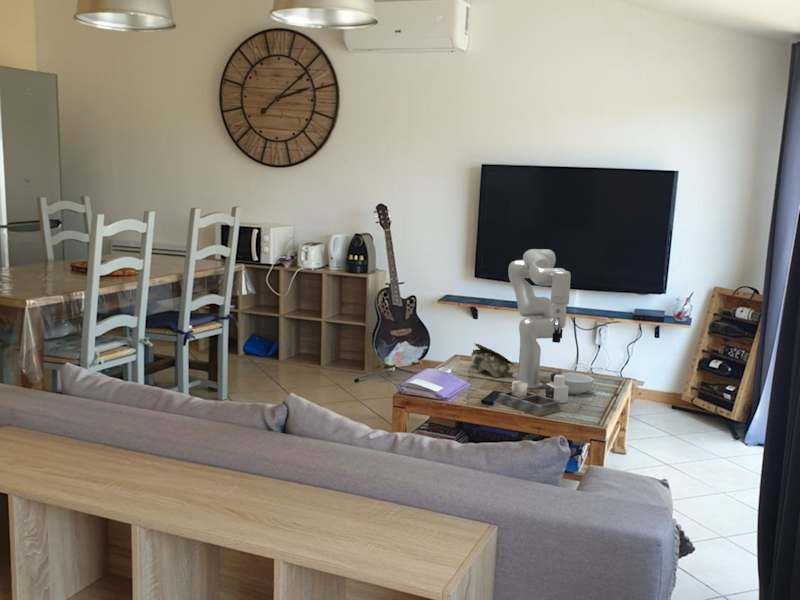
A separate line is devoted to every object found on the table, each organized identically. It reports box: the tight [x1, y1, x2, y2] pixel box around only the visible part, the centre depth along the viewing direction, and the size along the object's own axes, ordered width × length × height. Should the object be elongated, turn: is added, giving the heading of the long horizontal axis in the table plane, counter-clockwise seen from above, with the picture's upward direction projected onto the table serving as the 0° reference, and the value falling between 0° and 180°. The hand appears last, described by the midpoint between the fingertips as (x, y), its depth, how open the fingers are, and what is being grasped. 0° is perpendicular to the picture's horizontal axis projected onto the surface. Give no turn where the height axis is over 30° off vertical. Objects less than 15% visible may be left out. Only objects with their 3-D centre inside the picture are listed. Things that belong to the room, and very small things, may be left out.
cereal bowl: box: [560, 372, 594, 395], centre depth 361 cm, size 17×17×7 cm
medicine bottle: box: [545, 372, 569, 404], centre depth 346 cm, size 7×7×12 cm
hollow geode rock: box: [470, 342, 515, 378], centre depth 392 cm, size 28×13×15 cm
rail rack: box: [498, 380, 562, 417], centre depth 336 cm, size 22×13×9 cm, turn 40°
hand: (557, 340), depth 338 cm, fingers open, 9 cm apart
